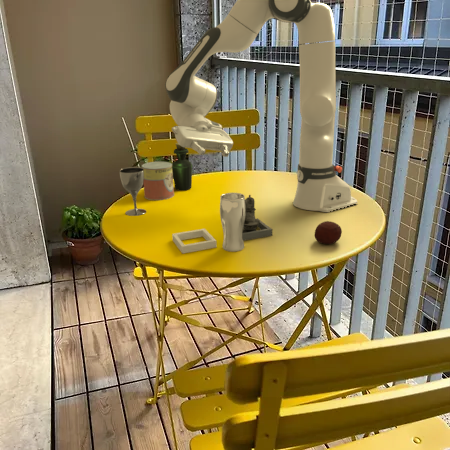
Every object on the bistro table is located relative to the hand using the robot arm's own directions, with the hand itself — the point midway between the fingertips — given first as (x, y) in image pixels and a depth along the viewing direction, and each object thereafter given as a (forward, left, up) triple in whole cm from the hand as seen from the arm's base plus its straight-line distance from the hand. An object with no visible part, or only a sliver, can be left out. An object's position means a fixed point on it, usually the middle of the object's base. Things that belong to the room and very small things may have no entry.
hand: (215, 154), depth 144 cm
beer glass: (+5, +26, -21) cm, 34 cm away
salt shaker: (-4, +18, -21) cm, 28 cm away
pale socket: (+14, +19, -21) cm, 32 cm away
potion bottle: (+1, -35, -21) cm, 40 cm away
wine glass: (+24, -15, -21) cm, 35 cm away
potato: (-21, +34, -21) cm, 45 cm away
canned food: (+12, -30, -21) cm, 38 cm away
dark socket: (-4, +18, -21) cm, 28 cm away
